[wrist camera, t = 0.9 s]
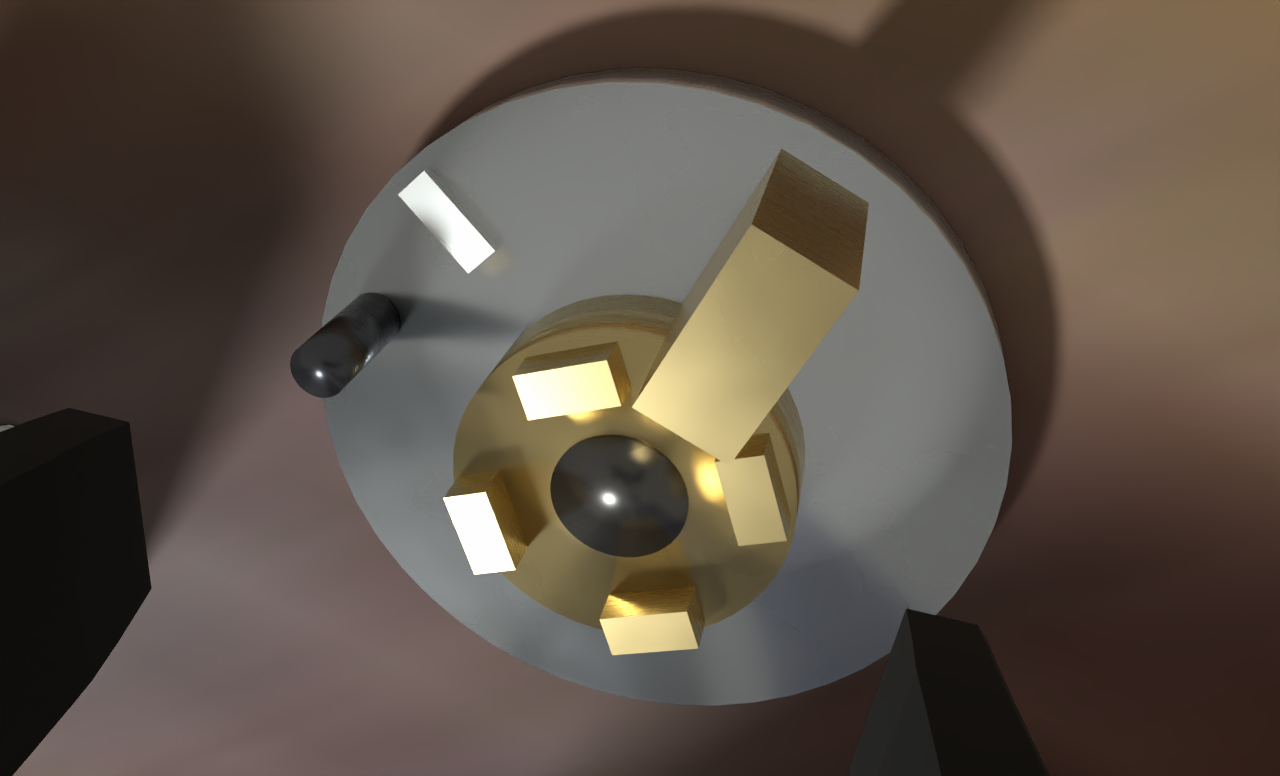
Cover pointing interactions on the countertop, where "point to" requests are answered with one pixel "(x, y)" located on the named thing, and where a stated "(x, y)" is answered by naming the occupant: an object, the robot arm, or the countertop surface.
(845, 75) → the countertop surface
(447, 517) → the cap plate
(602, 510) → the gold lugged disc
